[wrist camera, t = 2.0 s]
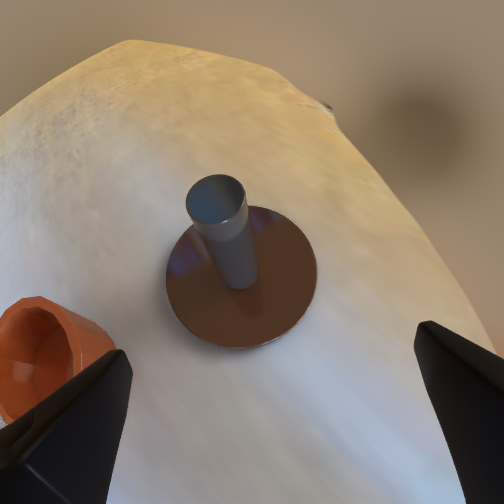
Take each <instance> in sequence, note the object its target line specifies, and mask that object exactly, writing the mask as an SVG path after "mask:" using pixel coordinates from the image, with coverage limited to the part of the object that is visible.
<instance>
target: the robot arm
mask: <svg viewBox="0 0 504 504" xmlns="http://www.w3.org/2000/svg"><path fill="white" fill-rule="evenodd" d="M414 351H415V354H416V357H417V361H418V364H419V367H420V370H421V374H422V377H423V380H424V384H425V387H426V390H427V393H428V395H429V398H430V400H431V403H432V405H433V408H434V410H435V413H436V415H437V418H438V420H439V423H440V426H441V428H442V431H443V434H444V436H445V439H446V442H447V445H448V447H449V450H450V453H451V456H452V459H453V462H454V465H455V468H456V471H457V474H458V477H459V480H460V483H461V487H462V490H463V493H464V497H465V499H466V500H465V501H466V504H504V359H502V358H501V357H499V356H497V355H495V354H493V353H491V352H490V351H488V350H486V349H484V348H482V347H480V346H479V345H477V344H475V343H473V342H471V341H469V340H467V339H466V338H464V337H462V336H460V335H458V334H456V333H454V332H452V331H451V330H449V329H447V328H445V327H443V326H441V325H439V324H437V323H435V322H434V321H431V320H430V321H424V322H421V323H419V325H418V327H417V332H416V336H415V341H414ZM132 377H133V371H132V368H131V365H130V363H129V361H128V359H127V356H126V354H125V352H124V351H123V350H121V349H112V350H109V351H108V352H107V353H105V354H104V355H103V356H101V357H100V358H99V359H97V360H96V361H95V362H93V363H92V364H90V365H89V366H88V367H86V368H85V369H84V370H82V371H81V372H80V373H78V374H77V375H76V376H74V377H73V378H72V379H70V380H69V381H68V382H66V383H65V384H64V385H62V386H61V387H60V388H58V389H57V390H56V391H54V392H53V393H51V394H50V395H49V396H47V397H46V398H45V399H43V400H42V401H41V402H39V403H38V404H37V405H35V408H34V407H33V408H31V409H30V410H29V411H27V412H26V413H25V414H23V415H22V416H20V417H19V418H18V419H16V420H15V421H13V422H12V423H10V424H9V425H7V426H6V427H4V428H2V429H1V430H0V504H106V501H107V496H108V491H109V486H110V482H111V477H112V473H113V468H114V464H115V459H116V455H117V451H118V447H119V443H120V439H121V435H122V431H123V427H124V423H125V419H126V415H127V409H128V402H129V395H130V389H131V383H132Z"/></svg>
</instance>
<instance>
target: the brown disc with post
mask: <svg viewBox="0 0 504 504" xmlns="http://www.w3.org/2000/svg"><path fill="white" fill-rule="evenodd" d="M186 209H187V212H188V214H189V216H190V218H191V220H192V222H193V225H192V226H190V227H189V228H188V229H187V230H186V231H185V232H184V234H183V235H182V236H181V237H180V239H179V240H178V242H177V243H176V245H175V247H174V249H173V251H172V253H171V255H170V258H169V262H168V266H167V271H166V288H167V294H168V298H169V301H170V304H171V306H172V309H173V311H174V312H175V314H176V316H177V317H178V319H179V320H180V321H181V322H182V324H183V325H184V326H185V327H186V328H187V329H188V330H189V331H191V332H192V333H193V334H195V335H196V336H198V337H199V338H201V339H202V340H204V341H206V342H208V343H211V344H214V345H216V346H220V347H225V348H231V349H247V348H254V347H259V346H262V345H265V344H268V343H271V342H273V341H275V340H277V339H278V338H280V337H282V336H283V335H285V334H286V333H288V332H289V331H290V330H291V329H292V328H293V327H294V326H296V325H297V323H298V322H299V321H300V320H301V319H302V317H303V316H304V315H305V313H306V311H307V310H308V308H309V306H310V304H311V301H312V299H313V296H314V292H315V289H316V283H317V264H316V258H315V255H314V252H313V249H312V247H311V245H310V243H309V241H308V239H307V238H306V236H305V235H304V233H303V232H302V231H301V230H300V229H299V227H297V226H296V225H295V224H294V223H293V222H292V221H291V220H289V219H288V218H286V217H285V216H283V215H281V214H279V213H277V212H275V211H272V210H269V209H266V208H262V207H257V206H248V204H247V199H246V194H245V190H244V187H243V186H242V184H241V183H240V182H239V181H238V180H236V179H235V178H233V177H231V176H228V175H222V174H217V175H211V176H207V177H205V178H203V179H201V180H199V181H198V182H196V183H195V184H194V185H193V186H192V187H191V189H190V190H189V192H188V194H187V197H186Z"/></svg>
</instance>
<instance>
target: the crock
mask: <svg viewBox="0 0 504 504" xmlns="http://www.w3.org/2000/svg"><path fill="white" fill-rule="evenodd" d="M112 349H116V347H115V345H114V343H113V341H112V340H111V338H110V337H109V336H108V334H107V333H106V332H105V331H104V330H103V329H102V328H101V327H99V326H98V325H97V324H96V323H94V322H92V321H90V320H88V319H86V318H84V317H82V316H80V315H78V314H76V313H74V312H72V311H70V310H68V309H66V308H64V307H62V306H60V305H58V304H56V303H54V302H52V301H50V300H48V299H46V298H43V297H41V296H37V297H29V298H22V299H20V300H19V301H17V302H16V303H15V304H13V305H12V306H11V307H9V308H8V309H6V310H5V312H4V313H3V315H2V316H1V318H0V414H1V416H2V418H3V420H4V421H5V423H7V424H8V425H9V424H10V423H12V422H13V421H15V420H16V419H18V418H19V417H20V416H22V415H23V414H25V413H26V412H27V411H29V410H30V409H31V408H33V407H34V408H35V405H37V404H38V403H39V402H41V401H42V400H43V399H45V398H46V397H47V396H49V395H50V394H51V393H53V392H54V391H56V390H57V389H58V388H60V387H61V386H62V385H64V384H65V383H66V382H68V381H69V380H70V379H72V378H73V377H74V376H76V375H77V374H78V373H80V372H81V371H82V370H84V369H85V368H86V367H88V366H89V365H90V364H92V363H93V362H95V361H96V360H97V359H99V358H100V357H101V356H103V355H104V354H105V353H107V352H108V351H109V350H112Z"/></svg>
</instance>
